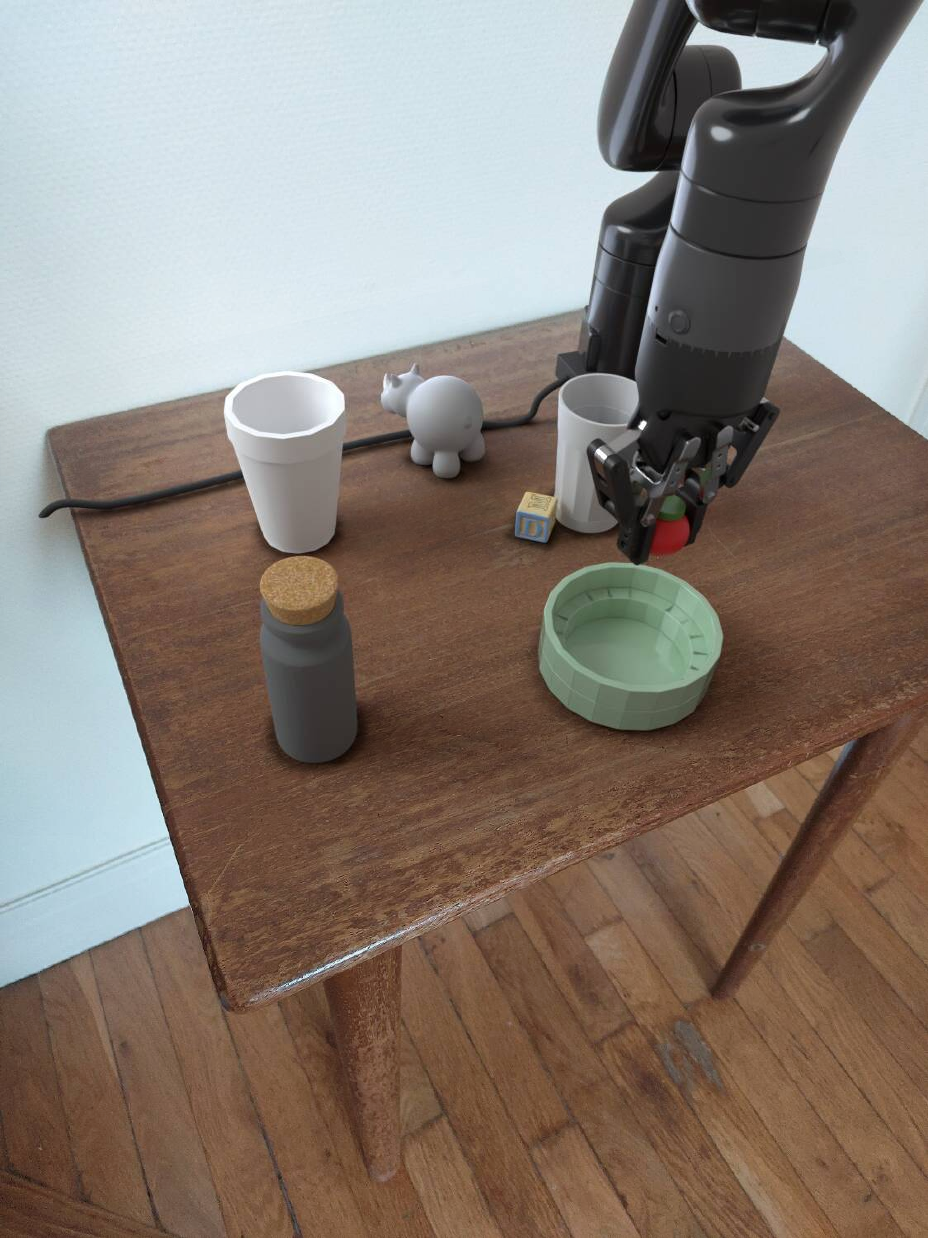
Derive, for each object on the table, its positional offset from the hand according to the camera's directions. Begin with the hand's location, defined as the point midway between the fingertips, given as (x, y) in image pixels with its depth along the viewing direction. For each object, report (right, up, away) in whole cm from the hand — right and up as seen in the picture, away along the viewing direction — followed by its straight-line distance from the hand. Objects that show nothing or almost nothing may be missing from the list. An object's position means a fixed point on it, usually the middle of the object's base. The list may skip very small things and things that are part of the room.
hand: (656, 546), depth 62 cm
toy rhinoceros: (-17, +12, +28) cm, 35 cm away
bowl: (-1, -9, +9) cm, 13 cm away
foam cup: (-28, +3, +19) cm, 34 cm away
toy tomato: (0, 0, 0) cm, 0 cm away
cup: (-2, +5, +22) cm, 23 cm away
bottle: (-24, -13, +4) cm, 27 cm away
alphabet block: (-7, +3, +20) cm, 21 cm away
